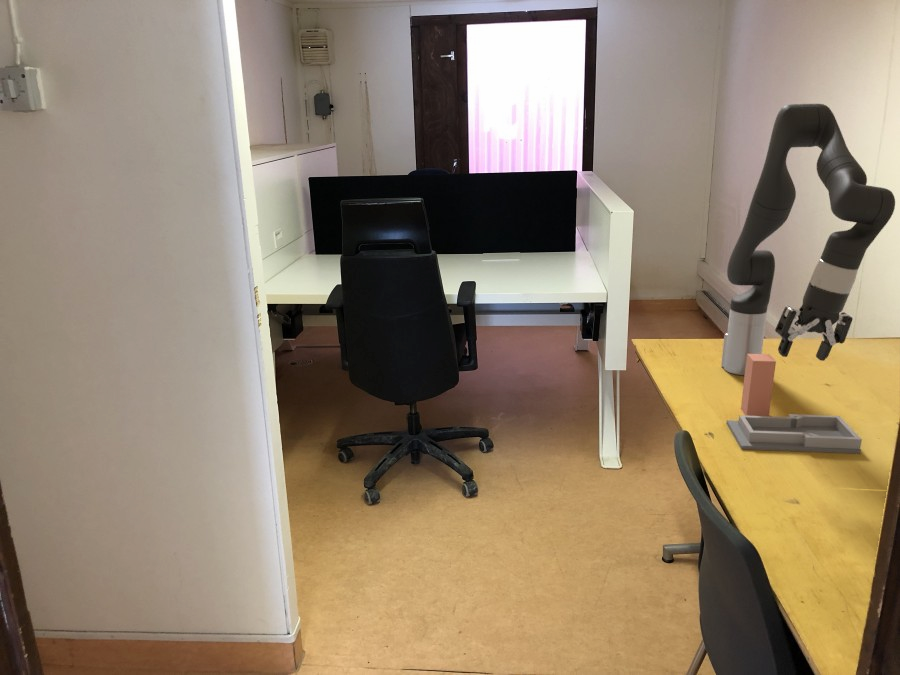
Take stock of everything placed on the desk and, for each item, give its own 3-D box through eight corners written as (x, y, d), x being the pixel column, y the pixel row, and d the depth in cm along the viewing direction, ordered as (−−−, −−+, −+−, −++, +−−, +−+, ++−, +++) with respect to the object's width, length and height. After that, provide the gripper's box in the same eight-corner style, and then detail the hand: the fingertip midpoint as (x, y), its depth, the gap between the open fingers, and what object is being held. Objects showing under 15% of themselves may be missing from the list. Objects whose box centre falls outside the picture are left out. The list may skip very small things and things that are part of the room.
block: (746, 417, 170) (753, 360, 166) (740, 408, 175) (747, 353, 171) (768, 417, 170) (776, 361, 165) (762, 409, 174) (769, 354, 170)
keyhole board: (836, 427, 164) (838, 414, 163) (860, 453, 152) (862, 440, 151) (726, 423, 167) (727, 411, 166) (741, 449, 155) (742, 436, 154)
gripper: (851, 281, 149) (821, 352, 155) (788, 274, 146) (760, 345, 153) (874, 296, 142) (842, 368, 149) (808, 287, 140) (778, 362, 147)
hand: (801, 357), depth 151 cm, fingers open, 8 cm apart
